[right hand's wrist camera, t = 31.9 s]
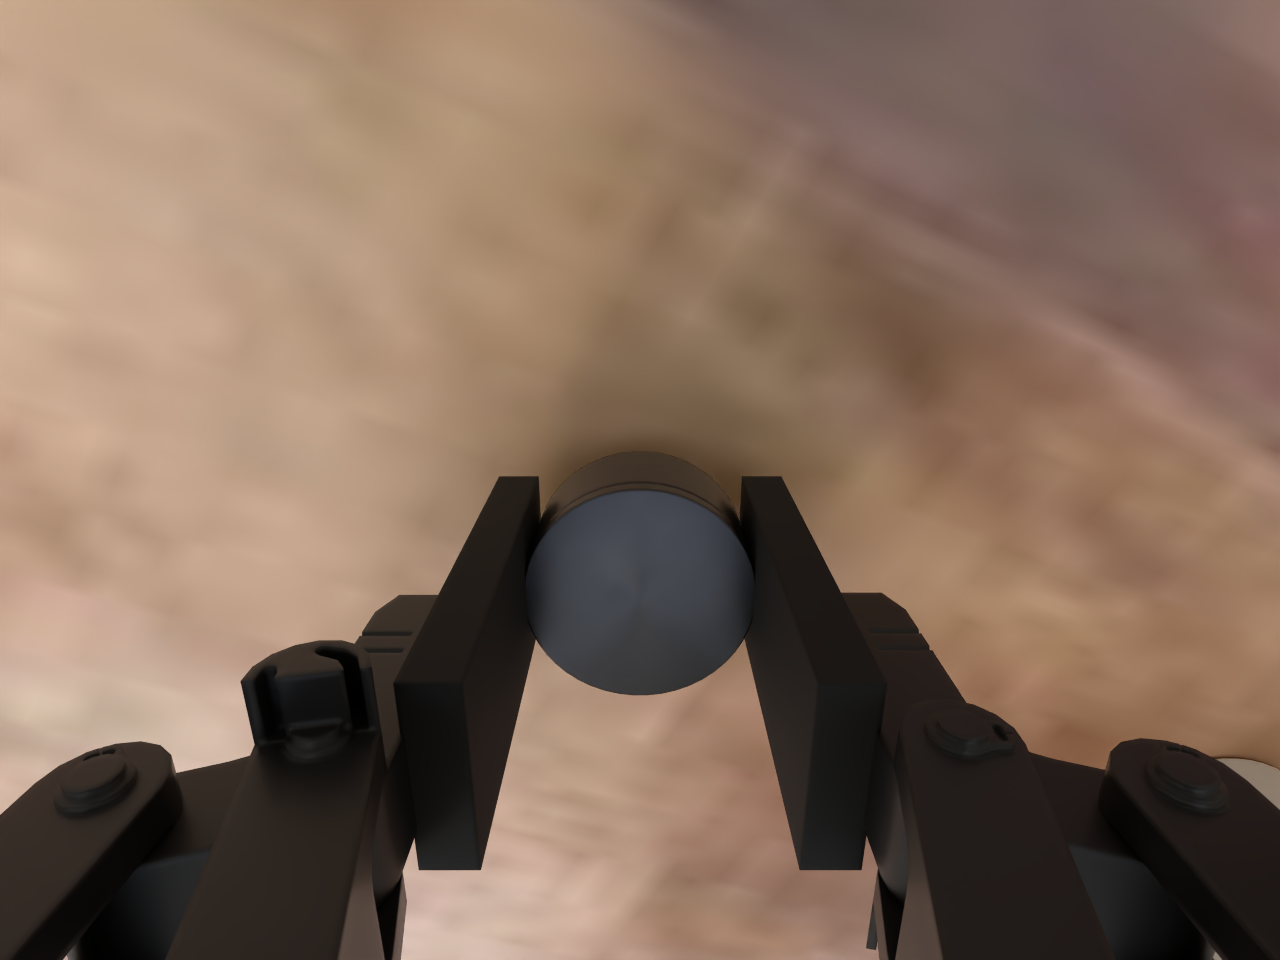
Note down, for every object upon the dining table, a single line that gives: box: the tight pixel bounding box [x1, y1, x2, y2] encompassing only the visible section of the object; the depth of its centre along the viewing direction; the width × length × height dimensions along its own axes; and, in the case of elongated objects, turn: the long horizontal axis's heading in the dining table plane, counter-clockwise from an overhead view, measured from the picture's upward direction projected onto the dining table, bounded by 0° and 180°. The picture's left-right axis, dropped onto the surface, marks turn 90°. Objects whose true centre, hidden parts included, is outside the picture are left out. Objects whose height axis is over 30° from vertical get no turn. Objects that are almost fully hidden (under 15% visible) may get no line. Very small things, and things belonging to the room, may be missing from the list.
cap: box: [525, 451, 755, 695], centre depth 14 cm, size 4×4×2 cm
